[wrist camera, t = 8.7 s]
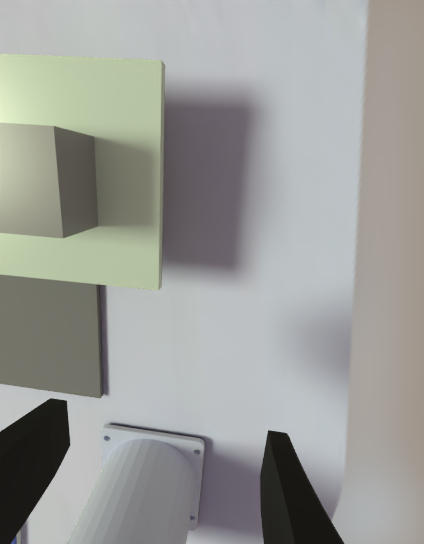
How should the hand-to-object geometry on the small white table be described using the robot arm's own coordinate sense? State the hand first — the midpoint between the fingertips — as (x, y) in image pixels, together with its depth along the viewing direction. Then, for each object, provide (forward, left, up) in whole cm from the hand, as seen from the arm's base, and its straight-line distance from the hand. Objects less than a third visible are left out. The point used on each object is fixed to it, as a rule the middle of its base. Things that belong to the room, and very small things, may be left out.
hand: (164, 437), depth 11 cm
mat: (-2, +13, -10) cm, 16 cm away
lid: (+8, +7, -6) cm, 12 cm away
